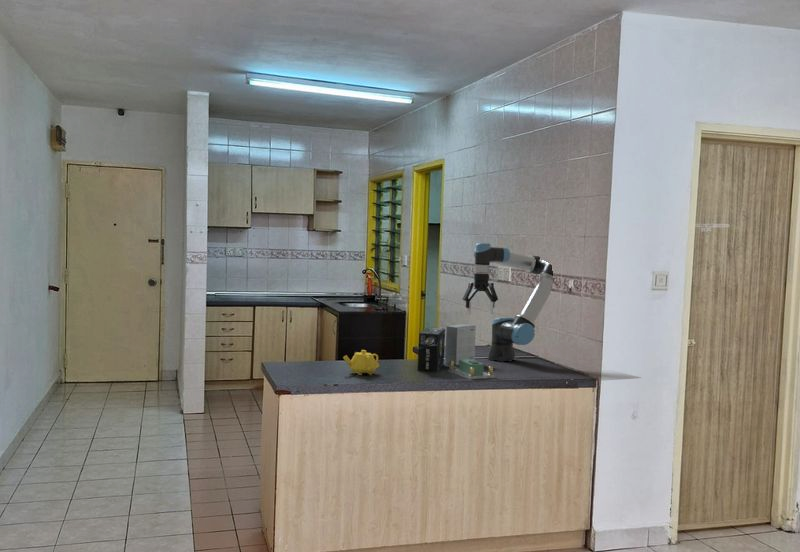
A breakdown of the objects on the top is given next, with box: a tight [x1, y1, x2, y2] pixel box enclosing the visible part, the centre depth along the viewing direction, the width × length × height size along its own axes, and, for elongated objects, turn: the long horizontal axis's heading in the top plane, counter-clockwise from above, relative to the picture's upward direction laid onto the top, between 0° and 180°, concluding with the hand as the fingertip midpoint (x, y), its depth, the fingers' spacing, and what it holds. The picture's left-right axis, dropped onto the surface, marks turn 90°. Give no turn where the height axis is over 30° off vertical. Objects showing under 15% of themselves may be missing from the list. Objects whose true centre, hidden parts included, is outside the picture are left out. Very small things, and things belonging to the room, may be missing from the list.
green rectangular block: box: [458, 359, 485, 375], centre depth 351 cm, size 7×14×6 cm, turn 17°
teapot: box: [342, 349, 380, 376], centre depth 341 cm, size 14×14×11 cm
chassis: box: [447, 361, 495, 380], centre depth 351 cm, size 13×20×5 cm, turn 27°
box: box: [417, 327, 446, 373], centre depth 364 cm, size 23×10×19 cm, turn 168°
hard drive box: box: [444, 323, 477, 367], centre depth 382 cm, size 16×8×20 cm, turn 134°
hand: (479, 314), depth 375 cm, fingers open, 13 cm apart
